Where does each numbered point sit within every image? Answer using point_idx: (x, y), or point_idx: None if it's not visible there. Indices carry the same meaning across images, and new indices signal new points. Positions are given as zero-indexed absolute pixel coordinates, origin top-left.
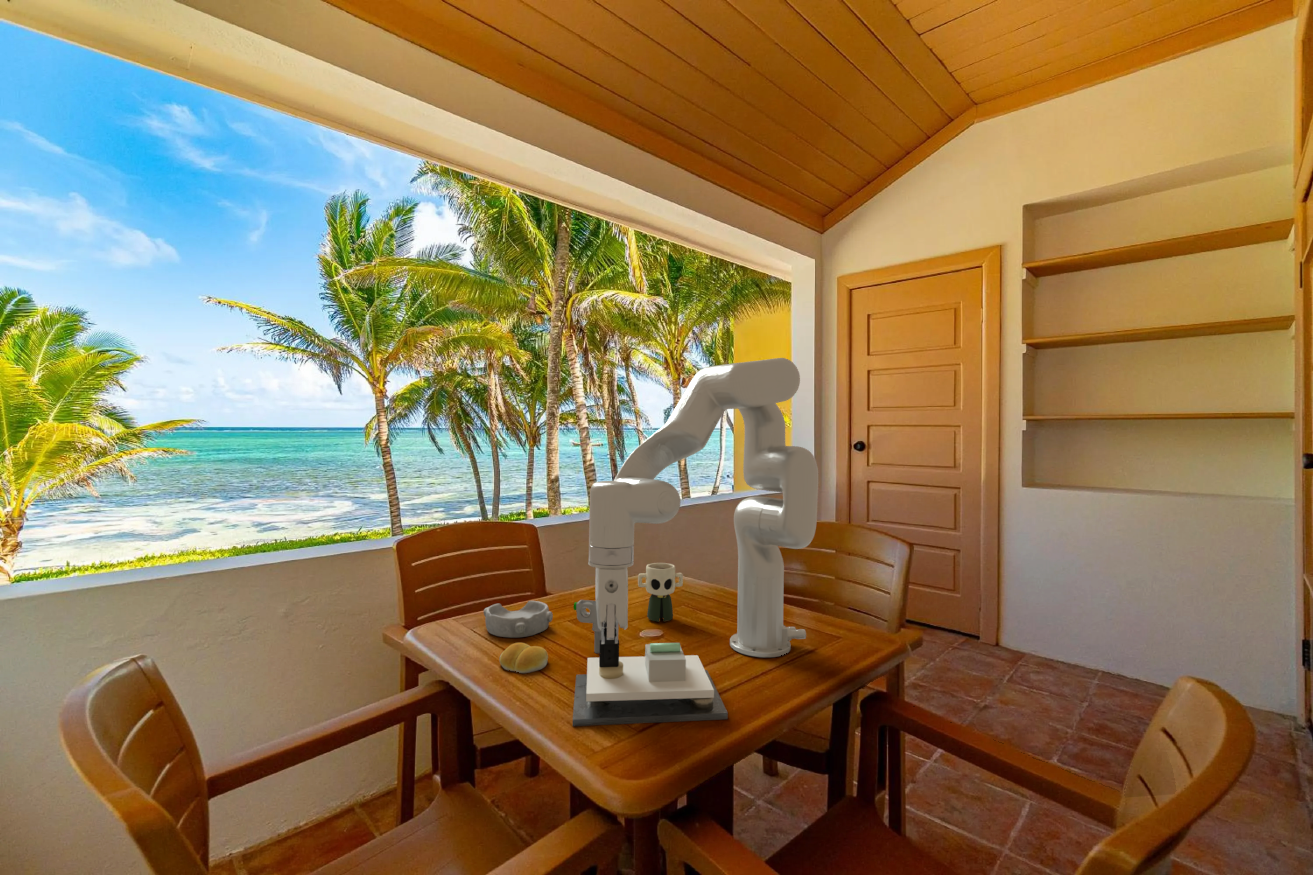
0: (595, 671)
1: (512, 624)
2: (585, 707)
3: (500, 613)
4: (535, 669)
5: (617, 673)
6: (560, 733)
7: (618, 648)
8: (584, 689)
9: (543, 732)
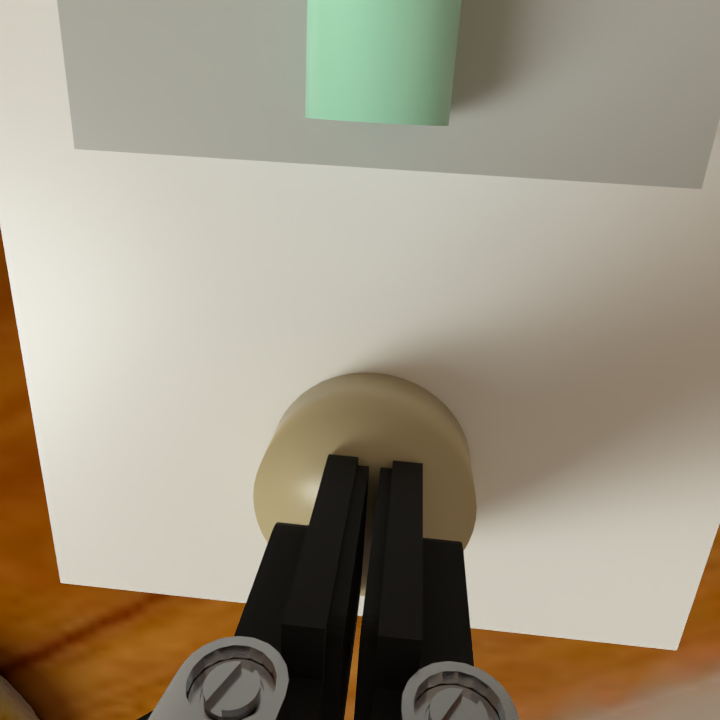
0: None
1: None
2: None
3: None
4: (15, 695)
5: (466, 448)
6: (686, 630)
7: (418, 586)
8: None
9: (649, 687)
